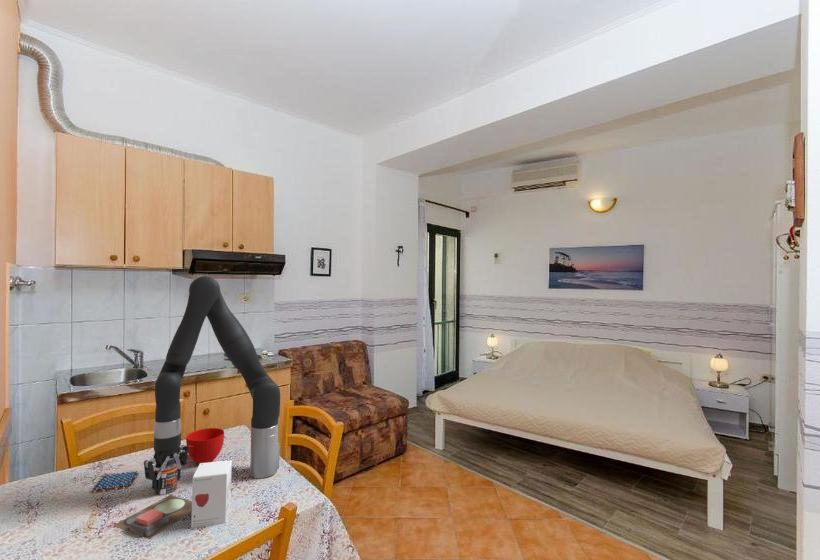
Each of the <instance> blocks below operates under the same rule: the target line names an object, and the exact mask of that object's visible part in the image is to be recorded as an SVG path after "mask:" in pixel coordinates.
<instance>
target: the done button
mask: <svg viewBox="0 0 820 560" xmlns="http://www.w3.org/2000/svg"><path fill="white" fill-rule="evenodd" d="M161 518H163V512H160V511H157V510H154V509H151V510H149V511H148V512H146V513H144V514H142V515H140V516H138V517H137V518H136V523H138V524H140V525H143V526H146V527H148V526H149V525H151V524H153V523H155V522H156V521H158V520H160V519H161Z"/></svg>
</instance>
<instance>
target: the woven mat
mask: <svg viewBox="0 0 820 560" xmlns="http://www.w3.org/2000/svg"><path fill="white" fill-rule="evenodd" d="M139 474H140V473H139V472H138V470H136V471H133V470H132V471H129V472H128V471H127V472H121V473H119V472H117V473H111V474H106V475H103V476H102V477H101V478H100V480H98V482H97V483H96V485H94V486H93V488H92V491H91V493H93V494H96V493H98V492H99V493H101V492H103V493H104V492H106V491H107V492H109V491H110V492H113V491H117V490H122V489H123V490H125V489H130V487H132V485H133V483H134V482H135V479H138V476H139Z"/></svg>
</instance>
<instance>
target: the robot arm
mask: <svg viewBox="0 0 820 560" xmlns="http://www.w3.org/2000/svg"><path fill="white" fill-rule="evenodd" d="M188 293H189V294H188V297H187V298H188V299H187V303H186V307H185V312H183V317H182V319H181V321H180V324H179V325H178V327H177V329H176V331H175V333H174V336H173V338H172V340H171V343H170V345H169V348H168V350H167V353H166V357H165V360H164V362H163V365H162V368H161V370H160V372H159V374H158V377H157V379H156V380H155V383H154V398H155V409H154V410H155V412H154V415H155V418H154V419H155V420H154V424H153V425H154V426H153V451H154V455H153V456H152V457H153V458H151V459H149V460H147V459H145V460H144V461H143V468H144V477H145V479H147V480H150V481H151V488H152V490H154V491H159V490H160V476H161V474H162V471H164V469H165V467H166V464H167V462H168V461H169V459H170V458H172V457H173V458H174V460H175V463H177V465H178V472H177V482H178V481H180V478H181V469H182V467H183V466H186V464H187V462H188V459H187V456H188V457H189V454H188V449H189V447H188V446H187V445H184V444H182V420H181V415H182V414H181V413H182V411H181V410H182V409H181V408H182V406H181V402H180V399H181V398H180V397H181V385H182V381H183V378H184V374H185V372H186V369H187V366H188V364H189V362H190V360H191V359H192V356H193V354H194V351H195V348H196V345H197V342H198V341H199V340H198V339H199V337H200V334H201V330H202V328H203V324H204V322H205V319H206V318H207V319H208V321H209V324H210V326H211V328H212V331H213V334H214V336H215V338H216V340H217V341H218V344H219V346H220V347H221V349H222V351H223V352H224V354H225V356H226V357H227V358H228V360H229V361H230V363H232V365H233V366H234V367H235V368H236V370H237V371H238V372H239V374H241V376H242V378H243V380H244V382H245V384H246V386H247V388H248V391H249V395H250V397H251V399H252V416H251V420H250V463H249V470H250V471H249V475H250V477H252V478H255V479H266V478H269V477H272V476H274V475H275V474H276V473H277V472H278V470H279V469H280V442H279V418H280V416H281V413H280V412H281V389H280V387H279V385H278V384H277V383H276V382H275V381H274V380H273V379H272V378H271V376H270V375H269V374H268V373H267V371H266V370H265V368H264V367H263V365H262V363H261V362H260V359H259V356H258V354H257V351H256V348H255V345H254V344H253V342H252V340H251V338H250V337H249V335H248V332H247V331H246V330H245V328H244V327H243V325H242V324H241V323H240V321H239V319H238V318H237V317H236V316H235V315H234V314H233V312H232V311H231V309H230V308H229V306H228V305H227V303H226V301H225V298H224V296H223V294H222V292H221V287H220V284H219V283H218V281H217V280H216V279H215V278H214V277H211V276H206V275H205V276H199V277H196V278H194V280H193V281H191V283H190V284H189V288H188ZM159 466H161V468H158V467H159ZM157 471H158V473H157ZM156 474H157V475H156Z"/></svg>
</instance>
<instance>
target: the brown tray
mask: <svg viewBox="0 0 820 560" xmlns="http://www.w3.org/2000/svg"><path fill="white" fill-rule="evenodd" d="M151 509H154V510H157V511H160V512H163V518H161V519H160V520H158V521H156V522H155V523H153V524H151V525H149V526H148V527H146V526H143V525H140V524H138V523H136V518H137V517H138V516H140V515H142V514H144V513H146V512H148V511H149V510H151ZM191 514H192V500H189V499H186V498H183V497H179V496H177V495H176V496H175V495H172V494H170V495H167V496H166V497H164V498H161V499H159V500H158V501H156V502H154V503H152V504H151V505H149V506H147V507H145V508H143V509H141V510H139V511H138V512H136V513H134V514H132V515H129V516H128V517H126V518H125V519H123V520H121V521H119V522H117V523H114V524H113V525H112V526H113V527H115V528H117V529H121V530H124V531H125V532H129V533H132V534H134V535H137V536H140V537H142V538H145V539H148V540H150V539H152V537H154V536H157V535H158V534H160V533H161V532H163V531H164V530H166V529H168V528H169V527H171V526H173V524H176V523H177V522H179V521H180V520H182V519H183V518H185V517H187V516H189V515H191Z"/></svg>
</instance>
